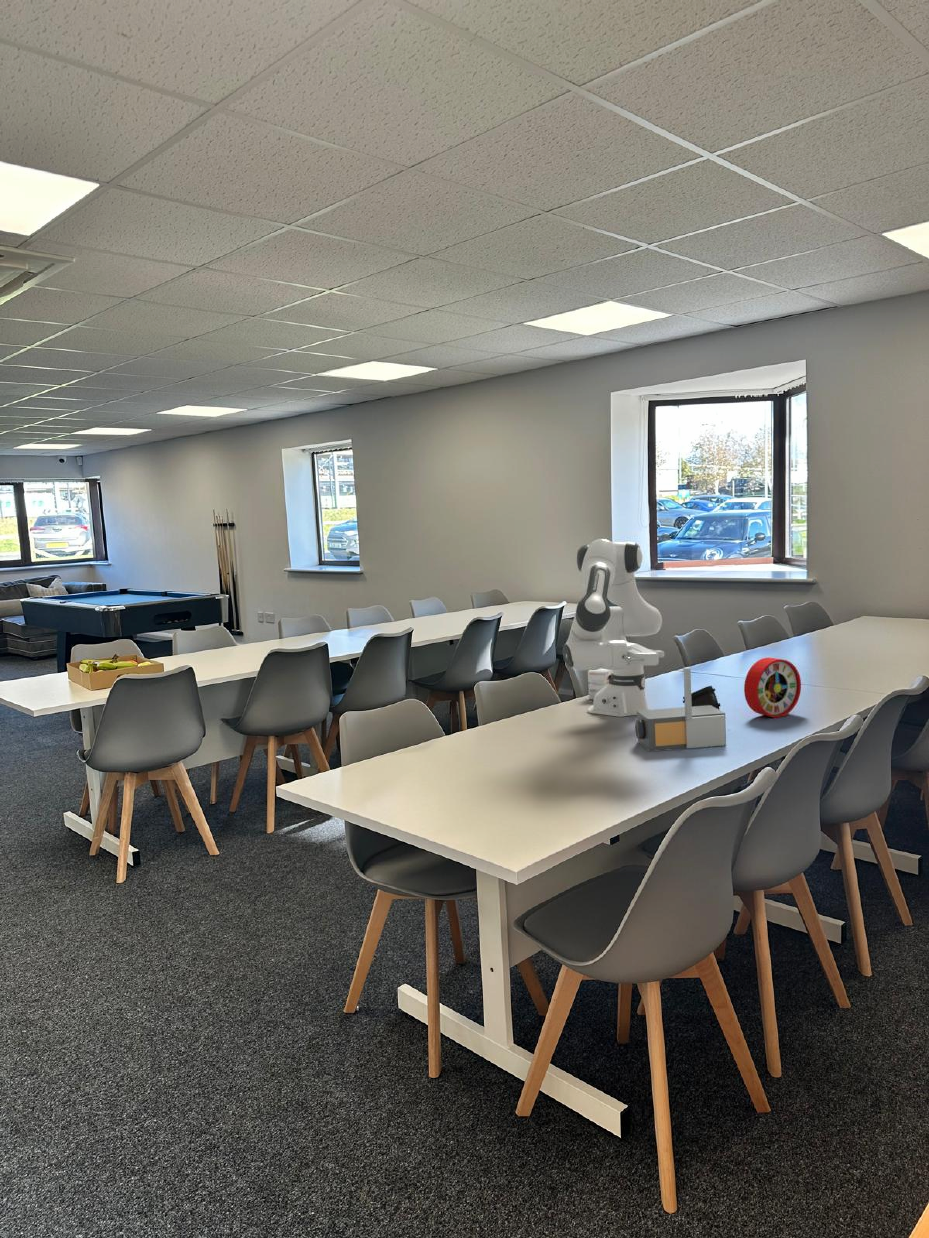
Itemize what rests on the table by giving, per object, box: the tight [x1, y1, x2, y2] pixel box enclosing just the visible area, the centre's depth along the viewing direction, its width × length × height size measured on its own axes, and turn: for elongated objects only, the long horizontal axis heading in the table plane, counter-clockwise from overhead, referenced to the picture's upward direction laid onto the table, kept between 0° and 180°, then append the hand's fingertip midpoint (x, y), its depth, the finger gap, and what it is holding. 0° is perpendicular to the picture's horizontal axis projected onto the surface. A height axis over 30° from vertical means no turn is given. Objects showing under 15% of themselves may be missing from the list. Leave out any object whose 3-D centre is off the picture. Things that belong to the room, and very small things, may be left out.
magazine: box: [682, 685, 722, 711], centre depth 278 cm, size 4×13×15 cm, turn 37°
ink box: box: [587, 669, 613, 701], centre depth 339 cm, size 8×8×12 cm
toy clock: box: [743, 657, 802, 718], centre depth 292 cm, size 20×6×20 cm, turn 114°
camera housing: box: [634, 705, 727, 752], centre depth 264 cm, size 26×12×10 cm, turn 95°
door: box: [683, 667, 727, 749], centre depth 256 cm, size 12×2×25 cm, turn 95°
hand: (662, 653), depth 255 cm, fingers closed
